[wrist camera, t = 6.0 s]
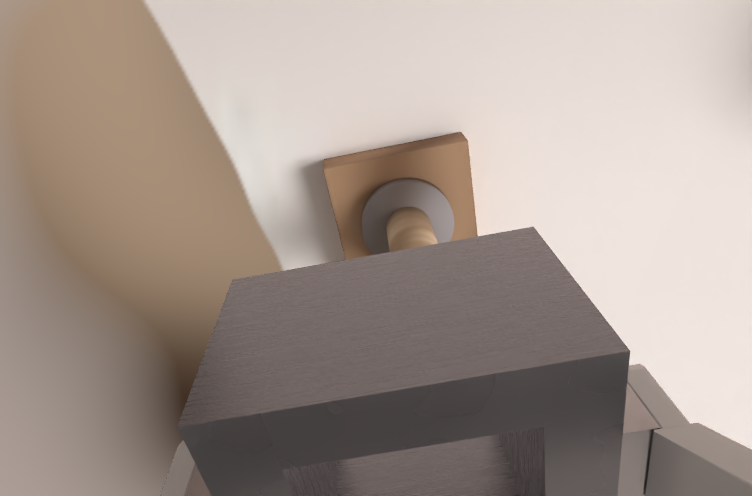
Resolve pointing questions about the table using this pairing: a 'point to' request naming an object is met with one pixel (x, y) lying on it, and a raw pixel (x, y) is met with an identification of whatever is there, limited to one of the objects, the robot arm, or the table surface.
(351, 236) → the post block
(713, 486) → the robot arm
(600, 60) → the table surface
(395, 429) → the grey square frame
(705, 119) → the table surface
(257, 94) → the table surface
